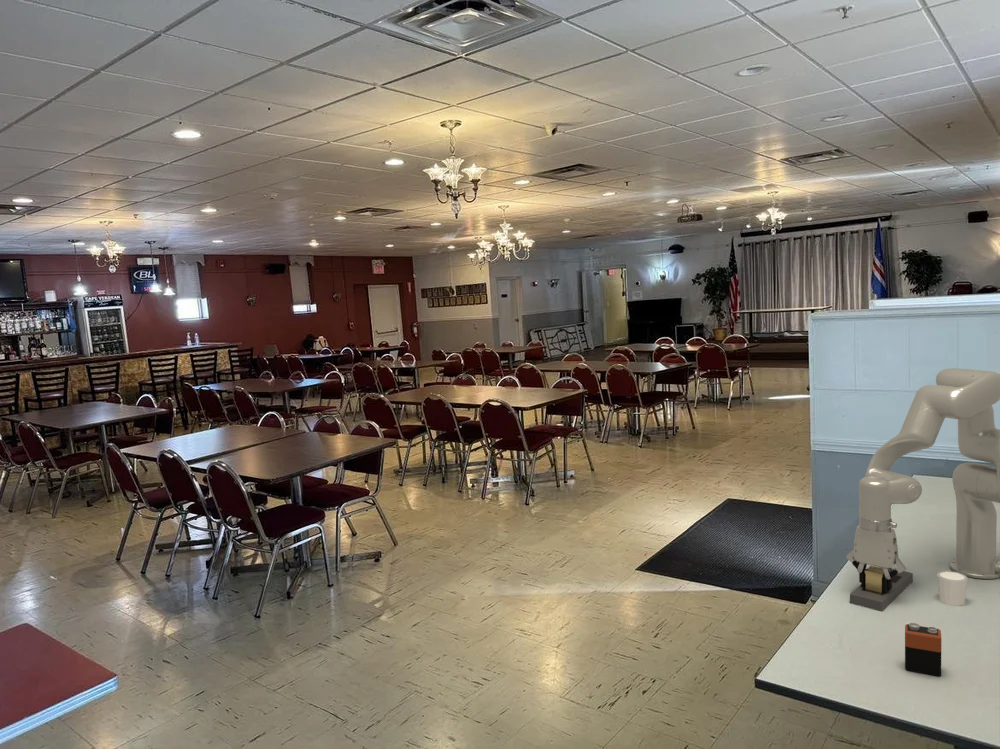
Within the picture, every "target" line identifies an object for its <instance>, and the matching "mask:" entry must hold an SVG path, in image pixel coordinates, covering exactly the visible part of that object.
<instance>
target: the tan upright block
mask: <svg viewBox="0 0 1000 749" xmlns="http://www.w3.org/2000/svg"><path fill="white" fill-rule="evenodd" d="M865 574H866V591H867V592H871V593H875V594H879V595H884V594H885V593H884V592H883V579H884V578H885V574H884V571H883V568H881V567H877V566H873V565H869V566H868V567H866V570H865Z"/></svg>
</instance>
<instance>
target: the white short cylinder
mask: <svg viewBox="0 0 1000 749" xmlns="http://www.w3.org/2000/svg"><path fill="white" fill-rule="evenodd" d="M936 577H937V586H938V588H937V589H938V598H939V601H940V602H941V603H943V604H945V605H949V606H952V607H953V606H955V607H957V606H959V607H960V606H961V607H962V606H963V605H965V603H966V595H967V588H968V578H969V577H968V576H965V575H963V574H961V573H957V572H954V571H953V570H942V571H938V572H937V573H936Z"/></svg>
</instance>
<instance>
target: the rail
mask: <svg viewBox="0 0 1000 749" xmlns="http://www.w3.org/2000/svg"><path fill="white" fill-rule="evenodd" d="M880 568H882V567H880ZM894 569H895V568H892V570H894ZM913 573H914V572H909V571H906V570H904V571H902V572H900V573H898V574H896V575H895V576H893V577H892V589H891V590H889V591H888V592H887V593H885V594H884V595H879V594H875V593H871V592H867V591H866V586H865V587H864V588H863V587H861V584H860V585H859V586H857V587H856V588H855V589H854V590H853V591H851V592H850V593H849V603H850V604H853V605H856V606H859V605H860V607H863V606H864V607H863V608H867V607H868V609H871V610H875V611H879V612H883V611H884V610H885V609H886V608H887V607H889V605H890V604H891V603H893V601H895V599H896V598H897V597H899V595H901V593H903V592H904V591H905V589H907V588H908V587H909V585H910V584H912V583H913V580H914V578H913V577H914V575H913Z"/></svg>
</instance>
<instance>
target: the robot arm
mask: <svg viewBox="0 0 1000 749" xmlns="http://www.w3.org/2000/svg"><path fill="white" fill-rule="evenodd" d="M935 377H936V378H935V384H926V385H923V386H921V387H920V388H918V390H917V391H916V392H915V395H914V397H913V400H912V402H911V404H910V407H909V409H908V412H907V414H906V415H905V419H904V421H903V424H902V425H901V429H900V431H899V433H897V434H896V435H895V436H893V437H892V438H891V439H889V440H888V441H886V442H885V443H884V444H883V445H882V446H880V448H879V449H877V450H876V451H875V453H874V454H873V455H872V457H871V459H870V462H869V464H868V466H867V469H866V472H865V475H864V477H862V478H861V479H860V480H859V483H858V517H859V518H858V520H859V521H858V522H859V523H858V524H857V526H856V529H855V534H854V541H853V549H851V551H849V553H848V554H846V556H845V558H846V559H847V560H848V561H849V562H850V563H851V564H852V565H853V567H855V569H856V570H857V572H858V576H859V577H858V580H859V581H858V582H859V584H860V585H861V587H863V588H864V587H865V586H866V574H865V570H866V569H867V565H869V566H875V567H879V568H881V567H882V568H883V571H884V574H885V578H884V579H883V592H884V593H887V592H888V591H889V590H891V589H892V577H893V576H895V575H896V574H898V573H900V572H902V571H906V569H907V567H906V565H905V564H904V563H903V562H902V560H901V559H900V557H899V556H900V555H899V547H898V546H899V545H898V540H897V534H896V531H895V529H897V528H898V523H896V522H895V521H893V518H892V505H908V504H913V503H914V502H916V501H917V500H918V499H920V497H921V496H922V493H923V492H922V491H923V488H922V484H921V483H920V482H919V480H917V479H916V478H915V477H913V476H911V475H906V474H902V473H898V472H894V471H891V469H892V467H893V466H894V464H895V463H896V462H897V461H898V460H899V459H900V458H902V457H903V456H905V455H908V454H911V453H914V452H918V451H922V450H927V449H930V448H932V447H933V446H934V445H935V443H936V441H937V440H936V439H937V438H938V434H939V432H940V431H941V427H942V426H943V423H944V421H945V419H946V418H948V419H952V420H953V419H954V420H957V440H958V441H957V442H958V443H957V445H958V451H959V453H960V454H961V455H963V457H965V458H968V459H972V460H974V461H975V460H976V461H981V462H985V463H989V464H994V466H993V465H988V464H983V463H978V462H970V461H969V462H964V463H961V464H960V463H959V464H958V465H957V466H956V467H955V468H954V470H953V472H952V478H951V479H952V485H953V490H954V495H955V500H956V501H955V502H956V507H955V508H956V516H955V517H956V520H955V522H956V529H955V531H956V532H955V534H956V535H955V536H956V537H955V538H956V540H955V541H956V542H955V544H956V546H955V549H956V550H955V559H953V560H951V561H949V562H950V563H949V569H951V571H952V572H957V573H961V574H963V575H965V576H967V578H973V579H978V580H980V579H981V580H982V579H983V580H990V579H991V580H993V579H998V578H1000V556H998V555H997V526H998V525H997V518H998V515H997V511H996V510H997V509H996V506H995V505H994V503H997V504H1000V429H999V428H997V427H996V425H995V413H994V412H995V410H994V408H993V405H994V404H996V403H997V402H999V401H1000V373H997V372H996V371H992V370H991V371H990V370H981V369H980V370H978V369H969V368H959V367H958V368H956V367H955V368H951V367H949V368H944V369H942V370H940V371H939V372H938V373H937V374H936V376H935ZM993 502H994V503H993ZM894 528H895V529H894ZM895 565H896V568H894V566H895ZM892 569H894V570H892Z"/></svg>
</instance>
